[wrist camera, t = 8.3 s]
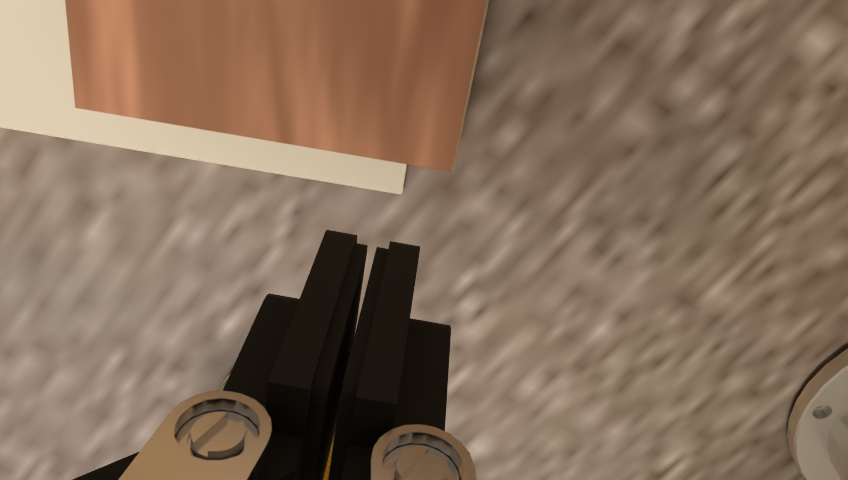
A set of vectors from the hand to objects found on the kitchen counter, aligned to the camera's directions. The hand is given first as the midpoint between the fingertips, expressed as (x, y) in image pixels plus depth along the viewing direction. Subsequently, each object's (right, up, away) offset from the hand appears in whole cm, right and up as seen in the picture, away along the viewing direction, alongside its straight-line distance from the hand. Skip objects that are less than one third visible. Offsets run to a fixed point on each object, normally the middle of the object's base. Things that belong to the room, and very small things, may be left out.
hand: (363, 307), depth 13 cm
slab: (+3, +8, +13) cm, 15 cm away
